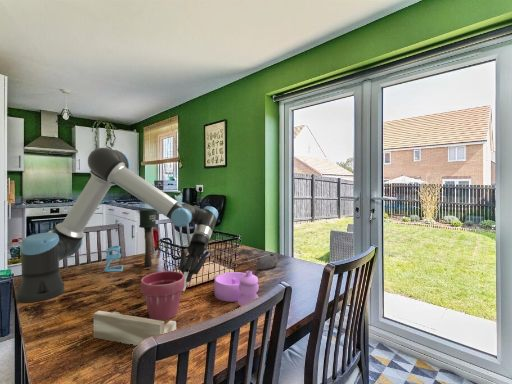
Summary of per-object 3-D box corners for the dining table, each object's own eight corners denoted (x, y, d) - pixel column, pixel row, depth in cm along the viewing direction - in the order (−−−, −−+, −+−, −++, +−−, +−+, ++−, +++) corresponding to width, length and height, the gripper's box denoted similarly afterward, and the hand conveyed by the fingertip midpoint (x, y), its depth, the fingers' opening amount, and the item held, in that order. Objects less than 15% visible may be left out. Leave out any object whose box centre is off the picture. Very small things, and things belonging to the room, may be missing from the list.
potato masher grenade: (150, 269, 143) (150, 210, 142) (135, 267, 145) (135, 210, 144) (159, 264, 151) (159, 209, 150) (145, 263, 153) (145, 208, 152)
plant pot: (135, 311, 97) (135, 275, 97) (175, 301, 106) (175, 268, 105) (148, 329, 86) (148, 288, 85) (191, 316, 94) (191, 279, 94)
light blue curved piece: (105, 268, 143) (104, 245, 143) (123, 266, 147) (122, 243, 146) (103, 273, 136) (103, 248, 136) (122, 271, 140) (122, 247, 139)
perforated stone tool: (260, 272, 141) (260, 258, 140) (253, 269, 145) (253, 256, 144) (280, 266, 151) (281, 253, 150) (273, 264, 155) (274, 251, 154)
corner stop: (114, 323, 89) (114, 302, 89) (176, 334, 83) (176, 311, 83) (93, 337, 81) (93, 313, 81) (160, 350, 76) (160, 324, 75)
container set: (209, 290, 117) (209, 259, 117) (242, 284, 124) (242, 255, 124) (233, 316, 95) (233, 278, 94) (271, 307, 102) (272, 271, 102)
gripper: (217, 243, 124) (200, 295, 108) (190, 241, 127) (170, 291, 111) (212, 233, 118) (193, 287, 103) (184, 231, 122) (162, 283, 106)
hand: (181, 289), depth 107 cm, fingers closed
